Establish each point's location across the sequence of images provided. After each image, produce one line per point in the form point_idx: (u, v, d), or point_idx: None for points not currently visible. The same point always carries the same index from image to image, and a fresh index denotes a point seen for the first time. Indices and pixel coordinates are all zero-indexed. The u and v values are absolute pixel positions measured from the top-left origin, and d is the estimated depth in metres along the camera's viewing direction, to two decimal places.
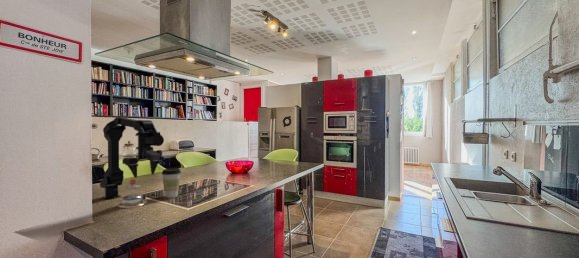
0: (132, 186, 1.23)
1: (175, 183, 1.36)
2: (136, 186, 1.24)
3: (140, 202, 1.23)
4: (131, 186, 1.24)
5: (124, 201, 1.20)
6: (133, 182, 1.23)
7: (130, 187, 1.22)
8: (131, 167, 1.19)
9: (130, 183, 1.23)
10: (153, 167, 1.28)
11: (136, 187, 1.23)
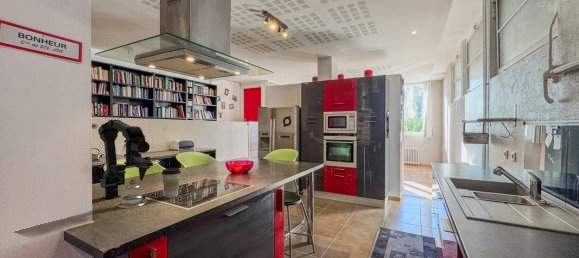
0: (132, 186, 1.23)
1: (175, 183, 1.36)
2: (136, 186, 1.24)
3: (140, 202, 1.23)
4: (131, 186, 1.24)
5: (124, 201, 1.20)
6: (133, 182, 1.23)
7: (130, 187, 1.22)
8: (119, 174, 1.19)
9: (130, 183, 1.23)
10: (142, 174, 1.28)
11: (136, 187, 1.23)
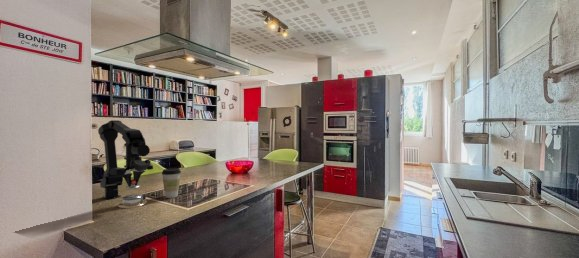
0: (132, 186, 1.23)
1: (175, 183, 1.36)
2: (136, 186, 1.24)
3: (140, 202, 1.23)
4: (131, 186, 1.24)
5: (124, 201, 1.20)
6: (133, 182, 1.23)
7: (130, 187, 1.22)
8: (125, 176, 1.21)
9: None
10: (136, 178, 1.25)
11: (136, 187, 1.23)
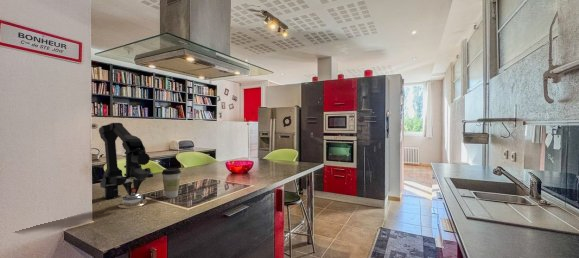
0: (132, 194, 1.23)
1: (175, 183, 1.36)
2: (136, 194, 1.24)
3: (140, 202, 1.23)
4: (131, 194, 1.24)
5: (124, 201, 1.20)
6: (133, 190, 1.23)
7: (130, 195, 1.22)
8: (125, 185, 1.22)
9: None
10: (136, 186, 1.25)
11: (136, 195, 1.23)
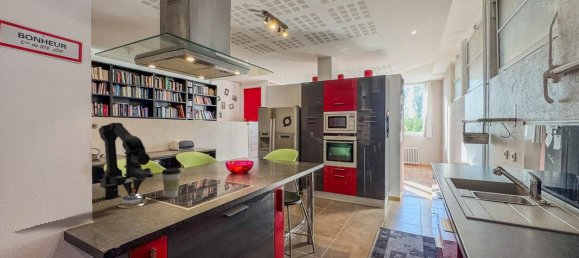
0: (132, 194, 1.23)
1: (175, 183, 1.36)
2: (136, 194, 1.24)
3: (140, 202, 1.23)
4: (131, 194, 1.24)
5: (124, 201, 1.20)
6: (133, 190, 1.23)
7: (130, 195, 1.22)
8: (125, 185, 1.22)
9: None
10: (136, 186, 1.25)
11: (136, 195, 1.23)
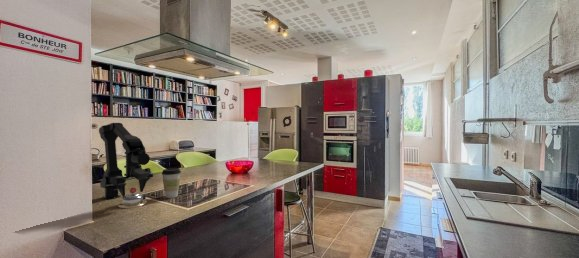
0: (132, 194, 1.23)
1: (175, 183, 1.36)
2: (136, 194, 1.24)
3: (140, 202, 1.23)
4: (131, 194, 1.24)
5: (124, 201, 1.20)
6: (133, 190, 1.23)
7: (130, 195, 1.22)
8: (119, 186, 1.19)
9: (130, 191, 1.23)
10: (142, 185, 1.28)
11: (136, 195, 1.23)
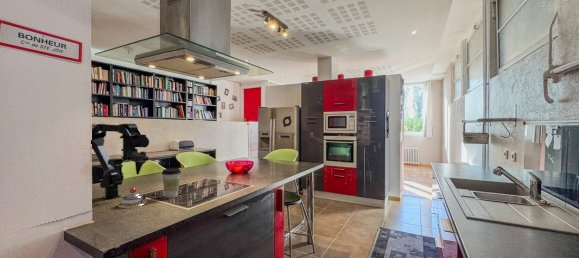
0: (132, 194, 1.23)
1: (175, 183, 1.36)
2: (136, 194, 1.24)
3: (140, 202, 1.23)
4: (131, 194, 1.24)
5: (124, 201, 1.20)
6: (133, 190, 1.23)
7: (130, 195, 1.22)
8: (116, 168, 1.27)
9: (130, 191, 1.23)
10: (138, 168, 1.36)
11: (136, 195, 1.23)
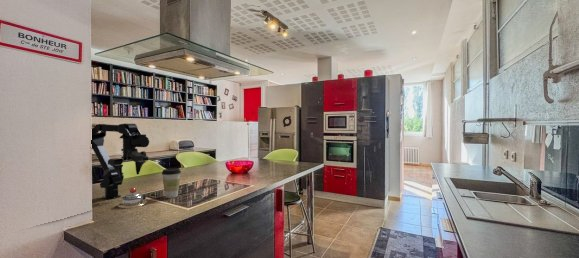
0: (132, 194, 1.23)
1: (175, 183, 1.36)
2: (136, 194, 1.24)
3: (140, 202, 1.23)
4: (131, 194, 1.24)
5: (124, 201, 1.20)
6: (133, 190, 1.23)
7: (130, 195, 1.22)
8: (116, 168, 1.27)
9: (130, 191, 1.23)
10: (138, 167, 1.36)
11: (136, 195, 1.23)
